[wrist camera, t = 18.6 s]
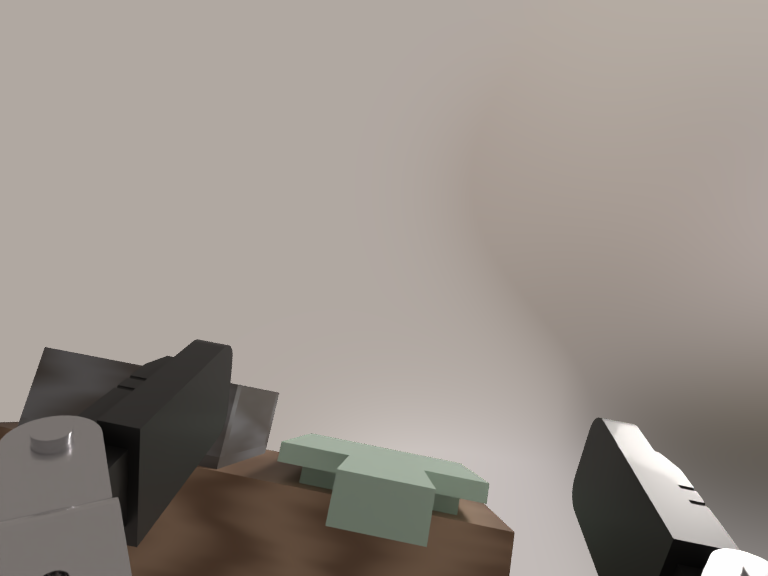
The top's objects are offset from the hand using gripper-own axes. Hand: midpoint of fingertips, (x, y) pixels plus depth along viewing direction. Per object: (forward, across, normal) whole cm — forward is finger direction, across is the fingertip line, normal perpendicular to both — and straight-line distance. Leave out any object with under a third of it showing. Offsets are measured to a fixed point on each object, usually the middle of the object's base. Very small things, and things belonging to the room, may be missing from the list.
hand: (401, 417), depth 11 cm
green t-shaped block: (+12, 0, +12) cm, 17 cm away
